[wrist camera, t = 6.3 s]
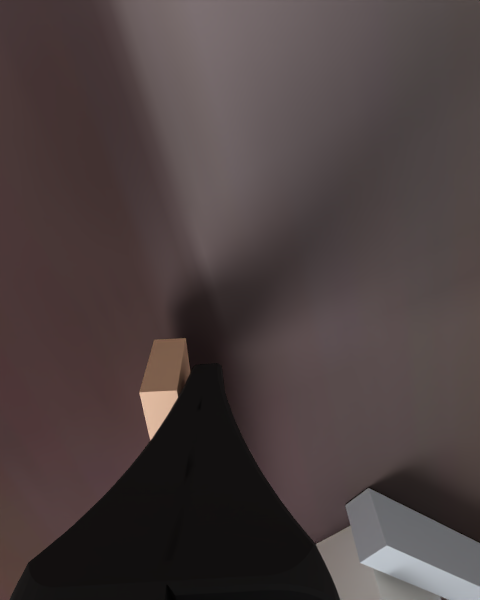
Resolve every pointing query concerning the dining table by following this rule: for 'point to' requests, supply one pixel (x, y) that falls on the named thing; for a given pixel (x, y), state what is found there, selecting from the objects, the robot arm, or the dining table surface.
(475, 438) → the dining table surface
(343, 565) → the white block
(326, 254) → the dining table surface
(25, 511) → the dining table surface
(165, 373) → the tan flat bar
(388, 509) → the dock
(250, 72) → the dining table surface
